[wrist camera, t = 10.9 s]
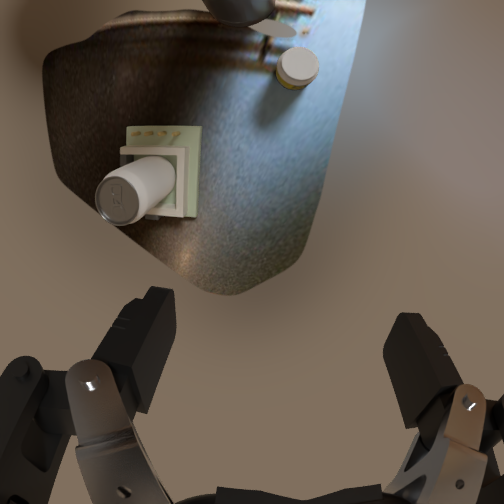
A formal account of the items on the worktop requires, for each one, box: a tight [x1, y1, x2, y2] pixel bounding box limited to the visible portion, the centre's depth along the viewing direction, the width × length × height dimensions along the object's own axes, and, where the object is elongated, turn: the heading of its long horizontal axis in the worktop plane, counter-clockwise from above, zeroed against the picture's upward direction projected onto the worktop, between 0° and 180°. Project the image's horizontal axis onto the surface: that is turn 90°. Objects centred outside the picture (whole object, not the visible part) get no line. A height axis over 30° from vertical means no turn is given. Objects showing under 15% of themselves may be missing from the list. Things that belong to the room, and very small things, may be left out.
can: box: [95, 155, 176, 226], centre depth 33 cm, size 6×6×12 cm
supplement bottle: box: [276, 47, 319, 90], centre depth 29 cm, size 5×5×8 cm
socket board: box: [120, 126, 202, 220], centre depth 38 cm, size 13×11×4 cm
